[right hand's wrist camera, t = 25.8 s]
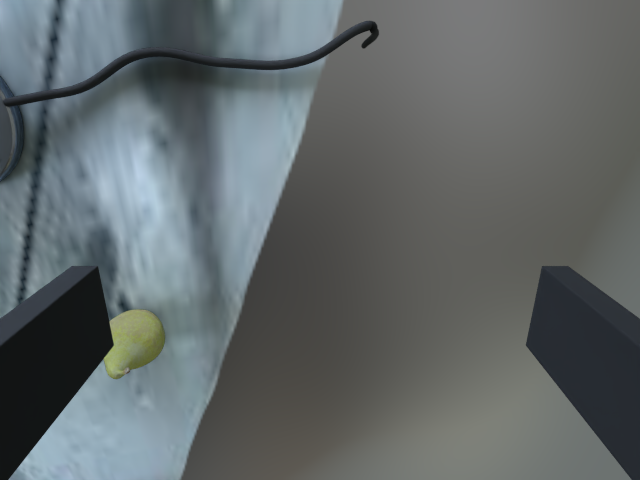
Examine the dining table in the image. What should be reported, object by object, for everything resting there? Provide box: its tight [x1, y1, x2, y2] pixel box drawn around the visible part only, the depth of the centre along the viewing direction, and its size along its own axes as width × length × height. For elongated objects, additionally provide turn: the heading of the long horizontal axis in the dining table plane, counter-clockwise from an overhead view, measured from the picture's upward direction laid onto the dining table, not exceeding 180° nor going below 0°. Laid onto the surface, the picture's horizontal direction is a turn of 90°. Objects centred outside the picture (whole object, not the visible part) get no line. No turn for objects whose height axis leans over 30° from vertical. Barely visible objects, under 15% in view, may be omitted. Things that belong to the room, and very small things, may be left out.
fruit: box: [104, 309, 165, 379], centre depth 46 cm, size 7×8×12 cm
